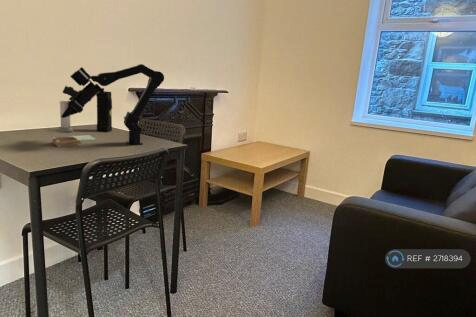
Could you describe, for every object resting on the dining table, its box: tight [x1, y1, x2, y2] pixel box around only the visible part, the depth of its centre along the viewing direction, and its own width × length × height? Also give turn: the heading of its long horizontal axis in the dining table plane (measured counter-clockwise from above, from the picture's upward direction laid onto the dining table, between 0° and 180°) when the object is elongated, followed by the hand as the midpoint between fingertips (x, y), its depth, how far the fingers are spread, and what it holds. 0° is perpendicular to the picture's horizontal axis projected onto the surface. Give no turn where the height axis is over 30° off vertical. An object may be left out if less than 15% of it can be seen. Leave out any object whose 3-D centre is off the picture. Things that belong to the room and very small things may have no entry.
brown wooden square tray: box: [51, 135, 82, 148], centre depth 162 cm, size 10×10×2 cm
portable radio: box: [95, 90, 113, 133], centre depth 198 cm, size 8×6×25 cm
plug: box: [58, 100, 74, 134], centre depth 159 cm, size 6×6×14 cm
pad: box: [68, 134, 97, 142], centre depth 176 cm, size 10×10×1 cm
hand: (62, 116), depth 159 cm, fingers closed on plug, 4 cm apart
